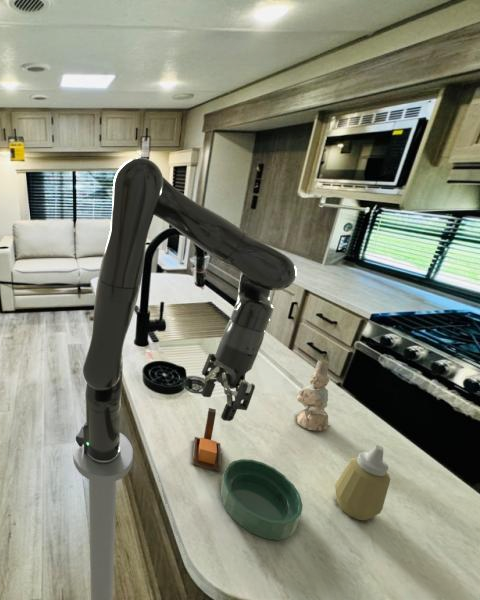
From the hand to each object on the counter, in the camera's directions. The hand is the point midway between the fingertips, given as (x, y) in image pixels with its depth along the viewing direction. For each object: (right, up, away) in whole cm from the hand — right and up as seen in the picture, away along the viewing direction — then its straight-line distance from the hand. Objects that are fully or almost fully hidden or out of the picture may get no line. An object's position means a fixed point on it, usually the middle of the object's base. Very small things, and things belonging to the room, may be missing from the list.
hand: (215, 407), depth 71 cm
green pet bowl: (+9, -22, 0) cm, 24 cm away
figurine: (+39, -13, +23) cm, 47 cm away
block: (+3, -17, +12) cm, 21 cm away
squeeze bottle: (+31, -22, -1) cm, 38 cm away
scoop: (+3, -18, +12) cm, 22 cm away
